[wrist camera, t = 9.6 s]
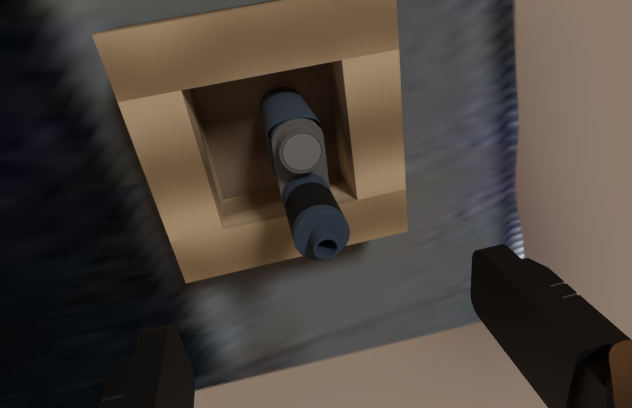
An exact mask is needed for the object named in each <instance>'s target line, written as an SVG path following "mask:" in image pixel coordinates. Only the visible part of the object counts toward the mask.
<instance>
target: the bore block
mask: <svg viewBox="0 0 632 408" xmlns="http://www.w3.org/2000/svg"><path fill="white" fill-rule="evenodd" d="M92 36H93V39H94V41H95V44H96V47H97V49H98V52H99V55H100V57H101V60H102V62H103V65H104V68H105V70H106V73H107V76H108V78H109V81H110V84H111V86H112V89H113V92H114V94H115V97H116V100H117V102H118V105H119V108H120V110H121V113H122V115H123V118H124V121H125V123H126V126H127V129H128V131H129V134H130V137H131V139H132V142H133V145H134V147H135V150H136V153H137V155H138V158H139V161H140V163H141V166H142V169H143V171H144V174H145V176H146V179H147V182H148V184H149V187H150V190H151V192H152V195H153V198H154V200H155V203H156V206H157V208H158V211H159V214H160V216H161V219H162V222H163V224H164V227H165V230H166V232H167V235H168V237H169V240H170V243H171V245H172V248H173V251H174V253H175V256H176V259H177V261H178V264H179V267H180V269H181V272H182V275H183V277H184V280H185V283H190V282H194V281H198V280H203V279H207V278H211V277H215V276H220V275H224V274H228V273H232V272H237V271H241V270H245V269H250V268H254V267H258V266H262V265H267V264H271V263H275V262H279V261H284V260H288V259H292V258H296V257H301V256H303V255H301V254H300V253H299V252H298V251H297V249H296V247H295V245H294V241H293V238H292V234H291V230H290V226H289V223H288V219H287V215H286V211H285V209H284V207H283V204H282V199H281V194H280V190H279V187H278V183H277V179H276V176H275V175H273V171H272V166H271V161H270V156H269V151H268V146H267V141H266V137H265V132H264V127H263V122H262V117H261V112H260V102H261V99H262V97H263V96H264V95H265V94H266V92H268V91H269V90H271V89H273V88H276V87H289V88H292V89H294V90H296V91H297V92H298V93H299V94H300V95H301V97H302V98H303V99H304V101H305V102H306V104H307V105H308V106H309V108H310V109H311V110H312V112H313V113H314V115H315V116H316V117H317V119H318V120H319V122H320V125H321V130H322V132H323V136H324V144H325V153H326V161H327V170H328V179H329V188H330V190H331V192H332V194H333V196H334V199H335V200H336V201H337V203H338V205H339V207H340V209H341V211H342V213H343V215H344V217H345V218H346V220H347V222H348V225H349V228H350V237H349V240H348V243H347V245H352V244H356V243H360V242H365V241H369V240H373V239H377V238H382V237H386V236H390V235H394V234H399V233H403V232H407V231H408V223H407V203H406V182H405V162H404V141H403V120H402V100H401V79H400V58H399V38H398V17H397V0H274V1H268V2H262V3H256V4H250V5H244V6H239V7H233V8H227V9H221V10H215V11H209V12H203V13H198V14H192V15H186V16H180V17H174V18H168V19H162V20H157V21H151V22H145V23H139V24H133V25H127V26H121V27H117V28H114V29H110V30H107V31H104V32H100V33H97V34H94V35H92ZM347 245H346V246H347Z"/></svg>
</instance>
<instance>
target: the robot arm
mask: <svg viewBox="0 0 632 408" xmlns="http://www.w3.org/2000/svg"><path fill="white" fill-rule="evenodd" d="M471 301H472V304H473V307H474V310H475V312H476V314H477V315H478V317H479V318H480V320H481V321H482V322H483V323H484V325H485V326H486V327H487V329H488V330H489V331H490V333H491V334H492V335H493V336H494V338H495V339H496V340H497V342H498V343H499V344H500V346H501V347H502V348H503V350H504V351H505V352H506V353H507V355H508V356H509V357H510V359H511V360H512V361H513V362H514V364H515V365H516V366H517V368H518V369H519V370H520V372H521V373H522V374H523V376H524V377H525V378H526V379H527V381H528V382H529V383H530V385H531V386H532V387H533V389H534V390H535V391H536V392H537V394H538V395H539V396H540V398H541V399H542V400H543V402H544V403H545V404H546V405H547V407H548V408H632V340H631V339H630V338H629V337H627V336H626V335H625V334H624V333H623V332H622V331H620V330H619V329H618V328H617V327H616V326H615V325H614V324H612V323H611V322H610V321H609V320H608V319H606V318H605V317H604V316H603V315H602V314H601V313H600V312H599V311H597V310H596V309H595V308H594V307H593V306H592V305H591V304H589V303H588V302H587V301H586V300H585V299H584V298H582V297H581V296H580V295H577V294H576V291H574V290H573V289H572V288H571V287H570V286H569V285H568V284H564V282H563V280H562V279H561V278H560V277H558V276H557V275H556V274H555V273H554V272H552V271H551V270H550V269H549V268H548V267H546V266H544V265H541V264H539V263H537V262H535V261H533V260H531V259H529V258H525V259H521V258H519V257H518V256H517V255H516V254H515V253H514V252H513V251H512V250H511V249H510V248H509V247H507V246H506V245H503V244H500V245H496V246H492V247H488V248H484V249H480V250H476V251H475V252H474V253H473V256H472V274H471ZM194 394H195V381H194V374H193V369H192V366H191V363H190V361H189V358H188V356H187V354H186V351H185V349H184V346H183V344H182V342H181V339H180V337H179V335H178V332H177V330H176V328H175V326H174V325H173V324H169V325H165V326H161V327H157V328H152V329H148V330H144V331H141V332H140V333H139V336H138V339H137V343H136V347H135V351H134V355H132V356H128V357H124V358H121V359H120V361H119V362H118V364H117V365H116V366H115V368H114V369H113V371H112V372H111V374H110V375H109V376H108V378H107V381H106V384H105V387H104V391H103V394H102V397H101V403H100V404H99V407H98V408H193V407H194Z"/></svg>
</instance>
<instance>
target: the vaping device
mask: <svg viewBox="0 0 632 408" xmlns="http://www.w3.org/2000/svg"><path fill="white" fill-rule="evenodd" d="M260 112H261V117H262V122H263V127H264V132H265V137H266V141H267V146H268V151H269V156H270V161H271V166H272V171H273V175H275V176H276V179H277V183H278V187H279V190H280V194H281V199H282V204H283V207H284V209H285V211H286V215H287V219H288V223H289V226H290V230H291V234H292V238H293V241H294V245H295V247H296V249H297V251H298V252H299V253H300V254H301V255H303V256H304V257H306V258H309V259H312V260H329V259H332V258H334V257H335V256H336V255H337V254H339V253H340V252H341V251H342V250H343V249H344V248H345V246H346V245H347V243H348V240H349V237H350V228H349V225H348V222H347V220H346V218H345V217H344V215H343V213H342V211H341V209H340V207H339V205H338V203H337V201H336V200H335V199H334V196H333V194H332V192H331V190H330V188H329V179H328V170H327V161H326V153H325V144H324V136H323V132H322V130H321V125H320V122H319V120H318V119H317V117H316V116H315V115H314V113H313V112H312V110H311V109H310V108H309V106H308V105H307V104H306V102H305V101H304V99H303V98H302V97H301V95H300V94H299V93H298V92H297V91H296V90H294V89H292V88H289V87H276V88H273V89H271V90H269V91H268V92H266V94H265V95H264V96H263V97H262V99H261V102H260Z"/></svg>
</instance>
